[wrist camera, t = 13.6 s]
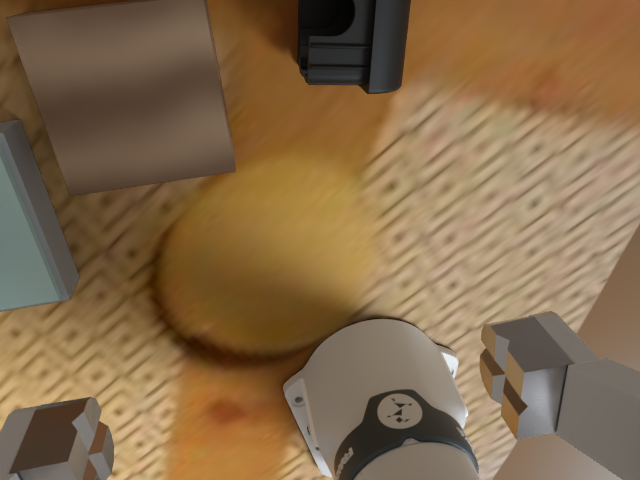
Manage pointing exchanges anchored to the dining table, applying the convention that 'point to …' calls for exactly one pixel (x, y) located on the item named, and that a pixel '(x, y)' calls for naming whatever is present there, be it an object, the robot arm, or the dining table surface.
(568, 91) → the dining table surface
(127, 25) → the stand
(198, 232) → the dining table surface
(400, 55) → the end cap
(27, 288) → the stand
